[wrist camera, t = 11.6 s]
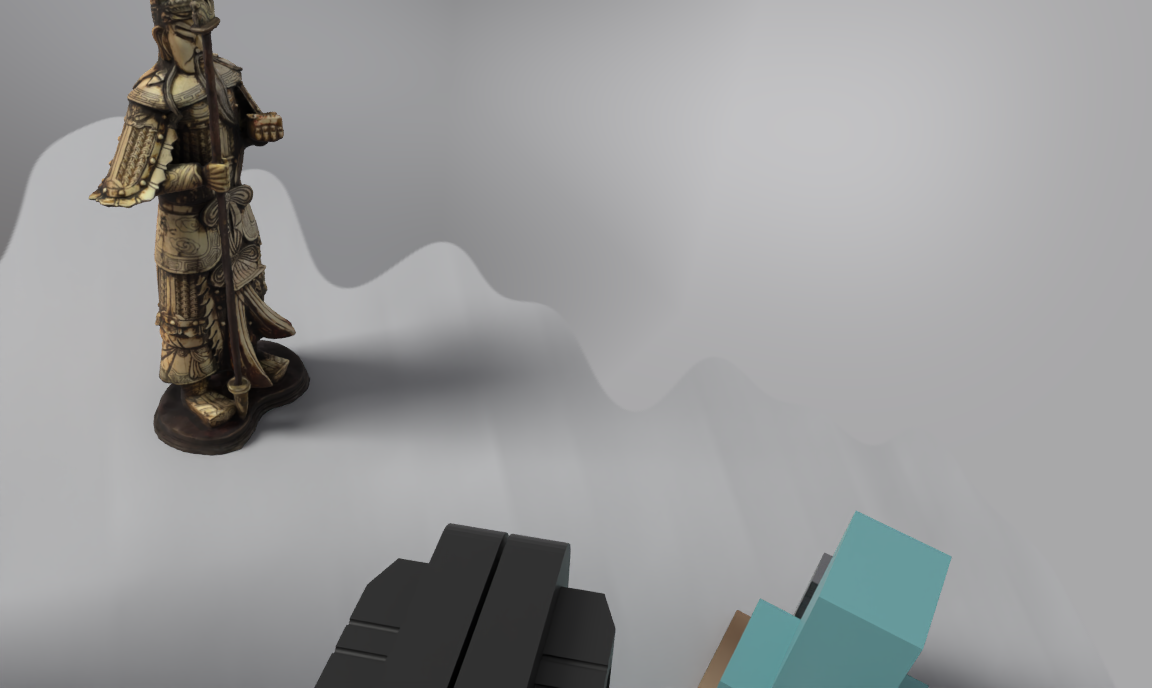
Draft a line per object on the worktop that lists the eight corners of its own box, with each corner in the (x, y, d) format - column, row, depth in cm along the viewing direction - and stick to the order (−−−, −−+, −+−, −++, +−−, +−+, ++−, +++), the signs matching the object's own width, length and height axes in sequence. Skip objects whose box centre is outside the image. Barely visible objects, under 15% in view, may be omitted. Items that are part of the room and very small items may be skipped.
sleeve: (838, 864, 38) (976, 676, 29) (678, 772, 39) (769, 571, 31) (867, 773, 40) (1001, 580, 32) (717, 691, 42) (809, 488, 34)
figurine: (120, 437, 49) (16, -116, 32) (221, 316, 56) (177, -184, 40) (249, 475, 48) (208, -68, 32) (334, 348, 55) (335, -146, 39)
